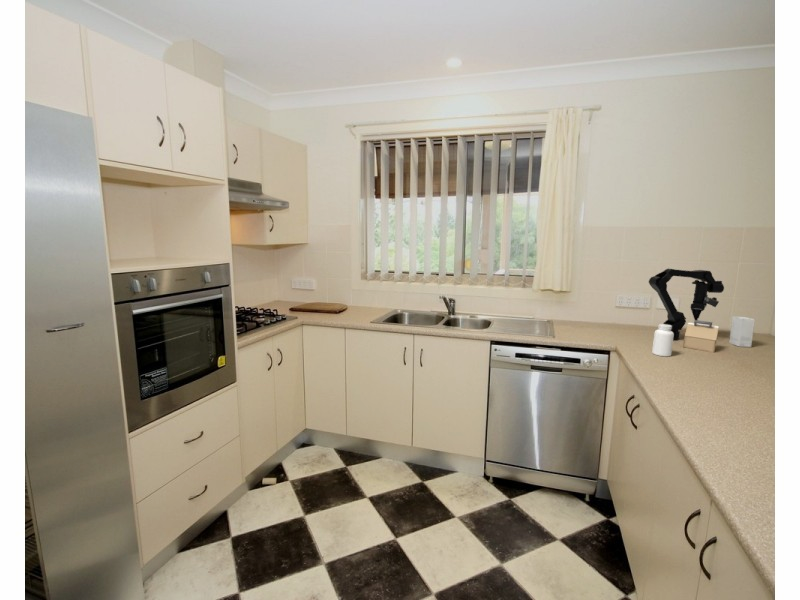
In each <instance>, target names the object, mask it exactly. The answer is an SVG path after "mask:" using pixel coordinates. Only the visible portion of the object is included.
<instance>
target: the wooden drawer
mask: <svg viewBox="0 0 800 600" xmlns="http://www.w3.org/2000/svg"><path fill="white" fill-rule="evenodd" d="M717 340H718V337H717V338H716V341H713V340H706V339H700V338H693V337H686V336H685V335H684V339H683V344H682V345H683V346H682V347H683V348H685V349H691V350H698V351H702V352H710V353H715V351H716V348H717Z"/></svg>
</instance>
